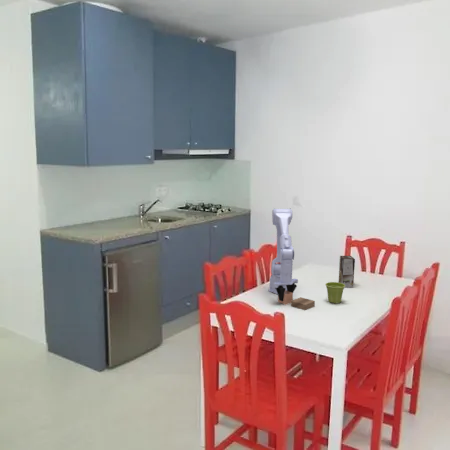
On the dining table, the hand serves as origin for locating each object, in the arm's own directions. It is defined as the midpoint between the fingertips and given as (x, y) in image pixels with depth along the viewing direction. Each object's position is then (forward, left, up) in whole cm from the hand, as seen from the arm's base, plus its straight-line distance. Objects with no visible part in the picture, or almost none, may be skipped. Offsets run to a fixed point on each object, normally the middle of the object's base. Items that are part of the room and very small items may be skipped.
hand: (285, 299), depth 225 cm
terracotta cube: (0, 0, -1) cm, 1 cm away
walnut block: (+9, +3, -2) cm, 10 cm away
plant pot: (+13, +21, -2) cm, 25 cm away
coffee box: (-2, +48, -2) cm, 48 cm away
